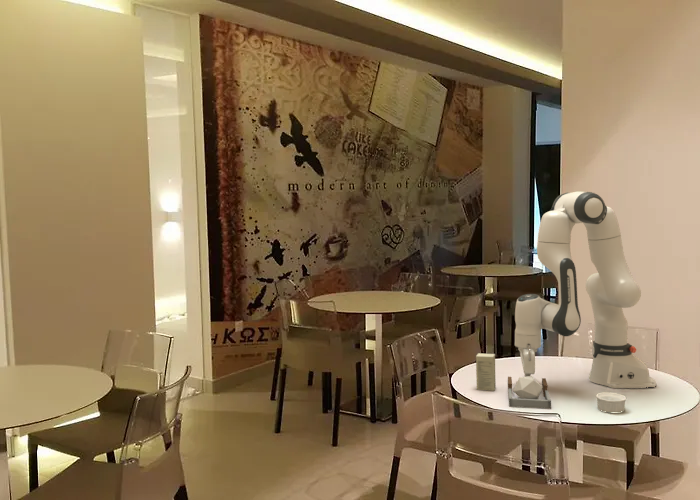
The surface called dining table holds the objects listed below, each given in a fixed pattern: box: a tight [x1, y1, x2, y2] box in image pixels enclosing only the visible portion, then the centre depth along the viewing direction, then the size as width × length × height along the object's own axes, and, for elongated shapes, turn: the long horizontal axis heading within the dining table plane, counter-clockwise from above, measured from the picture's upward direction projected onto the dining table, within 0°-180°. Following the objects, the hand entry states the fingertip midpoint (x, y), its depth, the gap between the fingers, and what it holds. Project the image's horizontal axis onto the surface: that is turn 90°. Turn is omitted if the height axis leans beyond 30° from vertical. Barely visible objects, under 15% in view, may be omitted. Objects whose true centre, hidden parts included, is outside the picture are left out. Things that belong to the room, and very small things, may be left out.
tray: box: [507, 387, 552, 410], centre depth 220 cm, size 13×11×2 cm
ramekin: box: [595, 392, 627, 413], centre depth 212 cm, size 9×9×4 cm
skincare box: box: [475, 352, 497, 392], centre depth 234 cm, size 6×4×12 cm
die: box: [513, 375, 543, 400], centre depth 222 cm, size 8×9×10 cm
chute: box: [507, 376, 549, 398], centre depth 230 cm, size 13×8×4 cm, turn 78°
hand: (527, 379), depth 234 cm, fingers closed
